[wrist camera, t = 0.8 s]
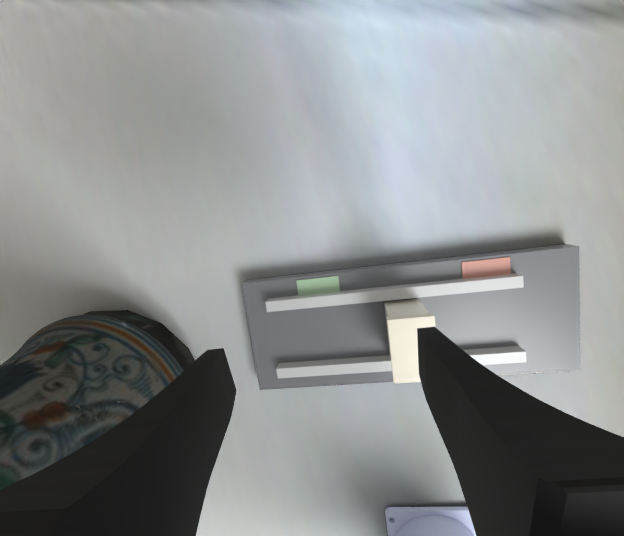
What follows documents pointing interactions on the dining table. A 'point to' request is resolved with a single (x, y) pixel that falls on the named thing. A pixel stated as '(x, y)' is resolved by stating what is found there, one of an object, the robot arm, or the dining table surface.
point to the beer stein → (80, 385)
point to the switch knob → (405, 336)
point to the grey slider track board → (436, 299)
